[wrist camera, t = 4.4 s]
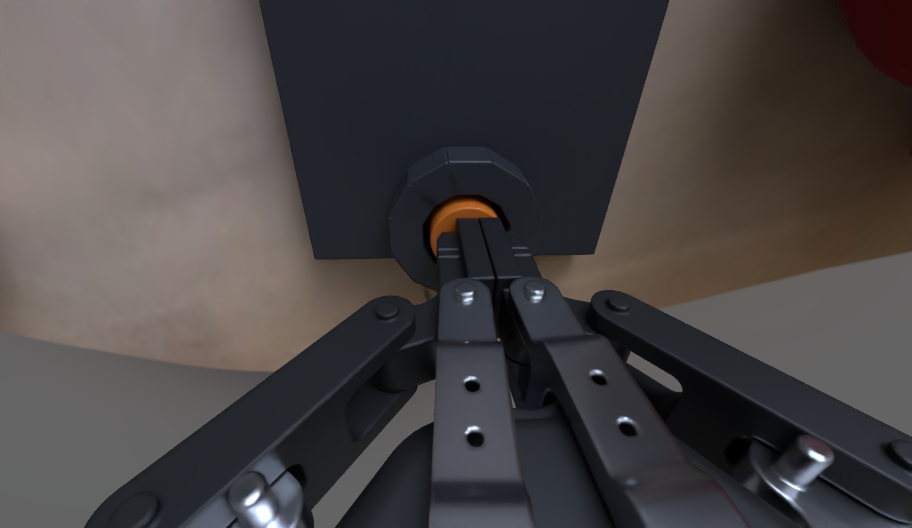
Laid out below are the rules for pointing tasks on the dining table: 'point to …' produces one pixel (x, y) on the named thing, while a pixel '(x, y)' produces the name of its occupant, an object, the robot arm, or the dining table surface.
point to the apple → (883, 34)
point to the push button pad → (457, 115)
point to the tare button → (457, 214)
